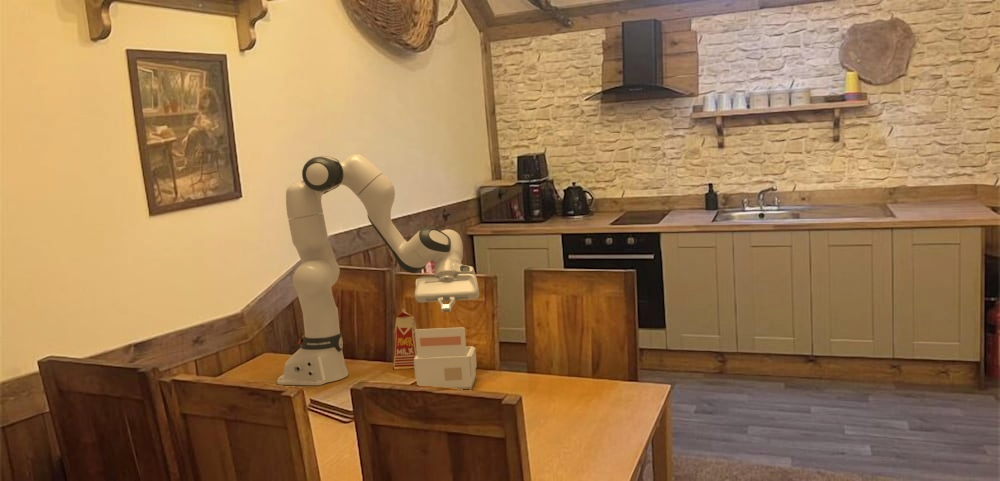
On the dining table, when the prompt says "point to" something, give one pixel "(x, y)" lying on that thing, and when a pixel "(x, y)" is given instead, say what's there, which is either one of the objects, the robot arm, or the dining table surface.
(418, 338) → the flap
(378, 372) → the dining table surface
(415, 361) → the carton
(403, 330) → the milk carton
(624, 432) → the dining table surface
